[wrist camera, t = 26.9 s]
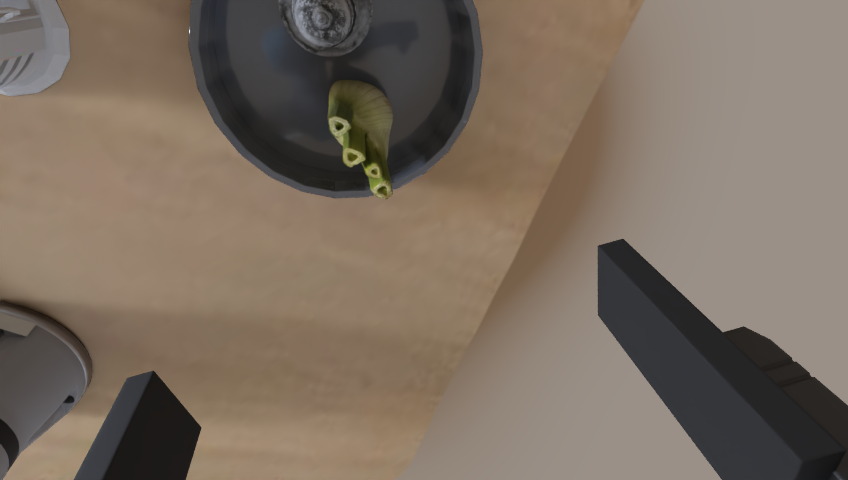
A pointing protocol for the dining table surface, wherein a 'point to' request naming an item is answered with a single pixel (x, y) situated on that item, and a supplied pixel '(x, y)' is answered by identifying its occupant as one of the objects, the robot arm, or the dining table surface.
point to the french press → (31, 45)
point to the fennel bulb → (362, 129)
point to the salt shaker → (327, 24)
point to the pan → (314, 75)
